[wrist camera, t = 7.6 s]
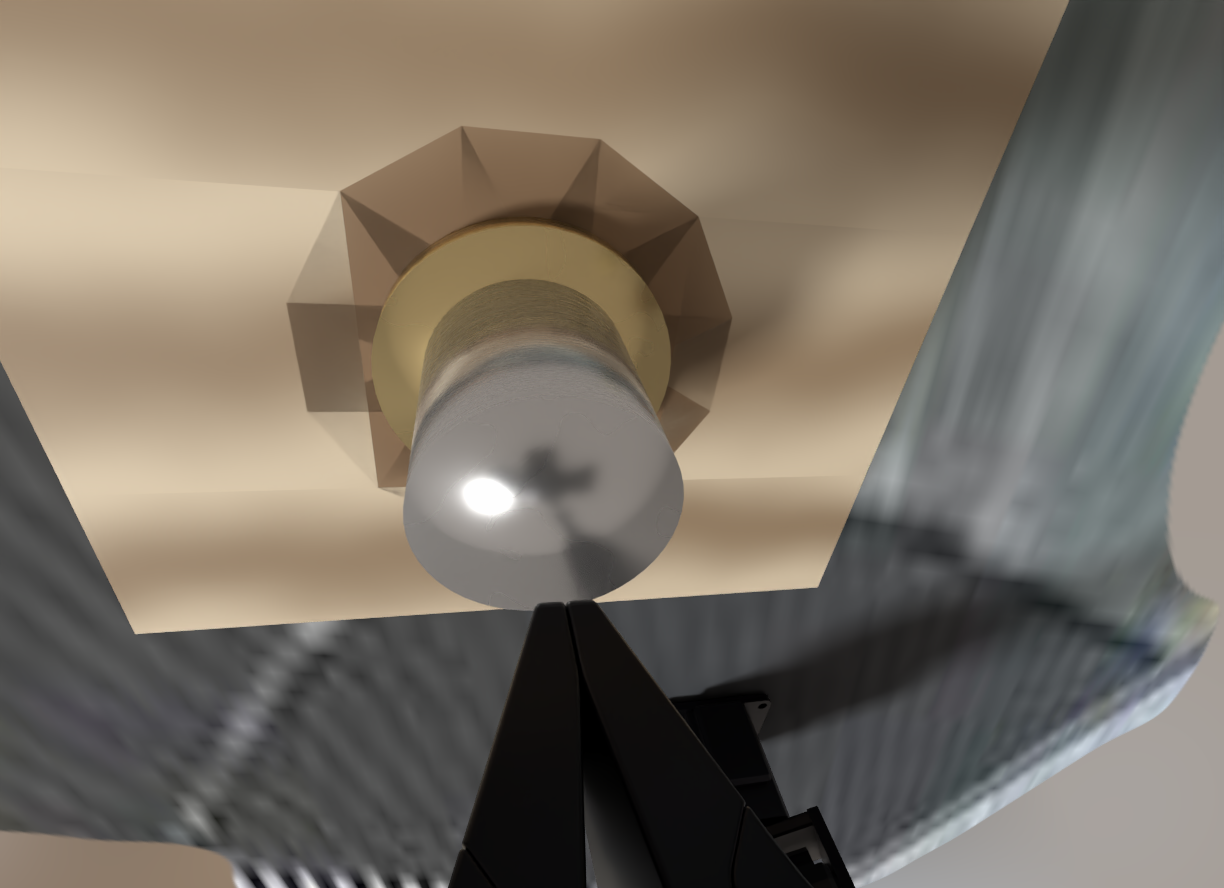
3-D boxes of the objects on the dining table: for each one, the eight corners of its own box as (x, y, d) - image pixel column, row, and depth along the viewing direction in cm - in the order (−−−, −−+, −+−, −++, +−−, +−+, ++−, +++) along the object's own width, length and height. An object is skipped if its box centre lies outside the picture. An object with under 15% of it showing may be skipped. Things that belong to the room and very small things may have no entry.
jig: (774, 515, 26) (817, 587, 23) (186, 539, 21) (135, 633, 18) (955, -15, 16) (1078, -22, 13) (-87, -194, 11) (-314, -276, 8)
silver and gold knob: (619, 407, 21) (702, 632, 13) (402, 407, 19) (357, 661, 12) (648, 189, 17) (790, 334, 9) (379, 168, 15) (291, 321, 8)
